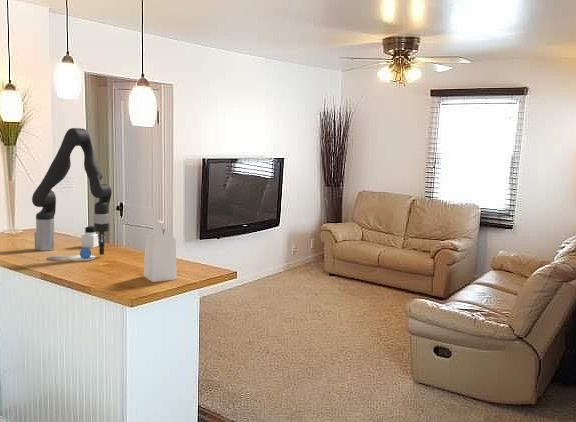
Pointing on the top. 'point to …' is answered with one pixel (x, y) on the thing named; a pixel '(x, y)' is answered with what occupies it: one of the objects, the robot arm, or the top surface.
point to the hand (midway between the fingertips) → (101, 254)
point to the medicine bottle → (90, 238)
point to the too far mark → (56, 258)
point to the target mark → (80, 258)
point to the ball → (85, 253)
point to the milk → (160, 255)
